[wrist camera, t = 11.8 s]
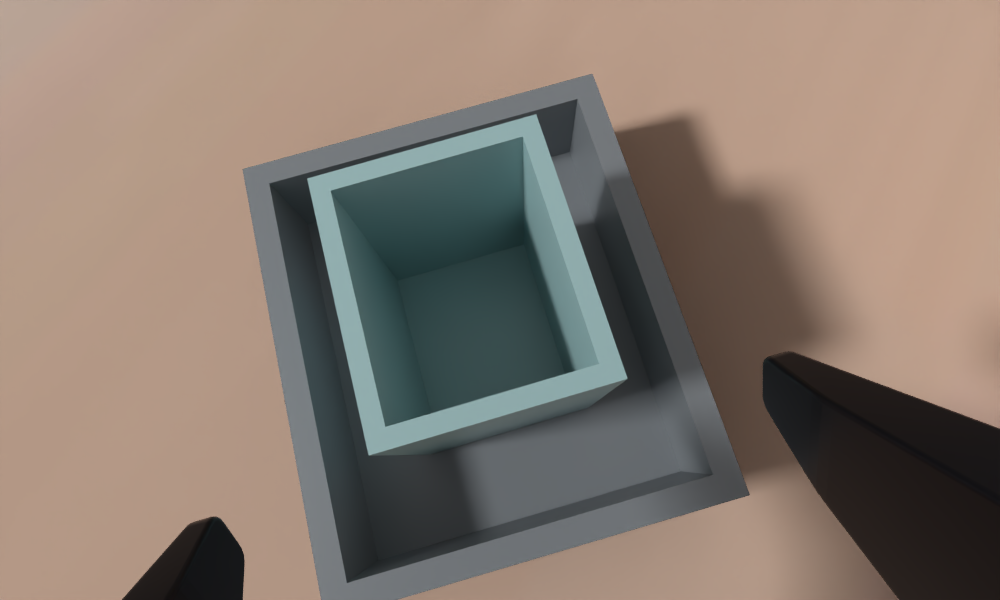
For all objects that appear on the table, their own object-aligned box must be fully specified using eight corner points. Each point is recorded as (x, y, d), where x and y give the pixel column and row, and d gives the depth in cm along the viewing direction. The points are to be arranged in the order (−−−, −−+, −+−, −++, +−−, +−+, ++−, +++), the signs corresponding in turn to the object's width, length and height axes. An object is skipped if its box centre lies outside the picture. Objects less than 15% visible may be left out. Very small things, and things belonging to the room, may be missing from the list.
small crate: (588, 407, 21) (627, 378, 13) (429, 454, 21) (368, 455, 13) (532, 234, 23) (535, 114, 15) (385, 276, 23) (307, 178, 15)
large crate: (704, 486, 21) (749, 495, 17) (366, 586, 21) (325, 621, 17) (580, 139, 25) (592, 73, 21) (292, 219, 25) (242, 169, 20)
